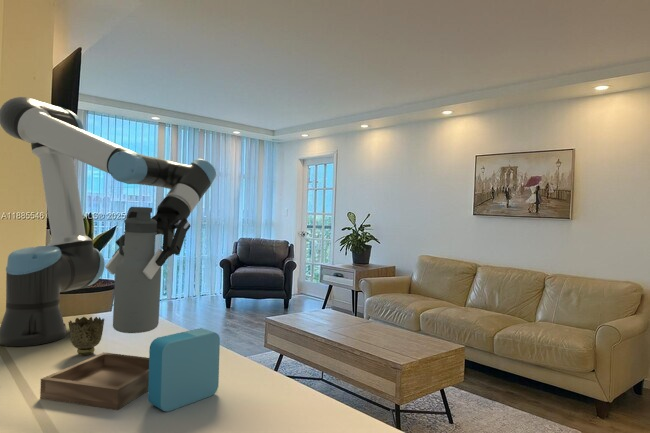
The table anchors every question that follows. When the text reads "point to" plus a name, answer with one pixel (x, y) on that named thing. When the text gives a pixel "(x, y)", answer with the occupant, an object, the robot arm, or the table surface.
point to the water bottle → (136, 275)
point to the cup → (86, 334)
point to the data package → (183, 368)
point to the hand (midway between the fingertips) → (127, 273)
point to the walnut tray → (99, 381)
